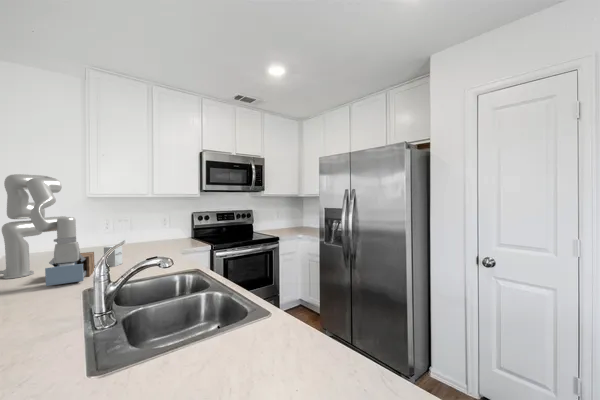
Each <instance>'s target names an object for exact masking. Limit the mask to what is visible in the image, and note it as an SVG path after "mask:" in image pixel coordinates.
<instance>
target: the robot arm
mask: <svg viewBox="0 0 600 400" xmlns="http://www.w3.org/2000/svg"><path fill="white" fill-rule="evenodd" d="M4 188H5V191H6V195H7V196H6V197H7V198H6V216H7V218H9V219H11V220H17V221H9V222H5V224H3V225H2V226H1V233H2V237H3V242H4V251H5V252H4V253H5V269H3V270H0V275H2V276H1V278H2V279H4V280H6V279H7V280H8V279H9V280H10V279H17V278H24V277H29V276H31V275H34V273H35V272H34V270H31V268H30V267H31V266H30V264H31V263H30V245H29V242H28V241H27V240H26V239H24V238H29V237H35V236H39V235H41V234H43V233H48V232H49V233H50V232H56V238H55V239H53V242H54V243H56V244H55V245H54V250H53V258H52V259H51V260H50V261H49V262H48V265H51V266H53V267H59V266H60V265H59V264H62V263H69V262H73V263H75V264H74V265H77V264H80V263H82V262H83V261H84V260H85V259H86V258H84V257H83V256H82V255H81V254H80V253H81V250H80V245H79V242H78V241H77V227H76V218H75V217H73V216H66V215H65V216H62V215H61V216H49V217H47V216H46V209H47V208H49V207H51V206H53V205H54V204H56V202H57V200H56V197H55V195H54V194H58V193H59V192H61V190H62V183H61V181H60V180H59V179H57V178H54V177H51V176H48V175H39V174H38V175H37V174H24V173H23V174H20V173H19V174H18V173H17V174H9V175H7V176H6V177H5V179H4ZM26 190H27V191H28V192H29V194H30V195H29V194H28V192H27V191H26ZM30 196H31V198H32V200H33V202H29V201H30V200H29V198H30ZM27 219H28V220H27ZM79 259H81V260H80V261H79V262H78V260H79Z"/></svg>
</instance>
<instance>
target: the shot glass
mask: <svg viewBox="0 0 600 400" xmlns="http://www.w3.org/2000/svg"><path fill="white" fill-rule="evenodd" d="M74 264H75V263H73V262H69V263H62V264H59V265H60V266H68V265H74Z"/></svg>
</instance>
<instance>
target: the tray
mask: <svg viewBox="0 0 600 400" xmlns="http://www.w3.org/2000/svg"><path fill="white" fill-rule="evenodd" d="M44 271H45V272H44V274H45V286H46V287H48V286H55V285H62V284H63V285H64V284H70V283H71V284H72V283H76V282H83V281H84V278H86V277H85V276H86V274H87V272H86V270H85V271H83V264H77V265H68V266H59V267H54V266H53V267H52V266H51V267H45V269H44Z"/></svg>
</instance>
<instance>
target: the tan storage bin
mask: <svg viewBox="0 0 600 400" xmlns="http://www.w3.org/2000/svg"><path fill="white" fill-rule="evenodd" d="M80 254H81V255H82V256H83V257H84V258H86V259H85V260H84V261H83V262H82V263H80V264H83V271H85V270H86V272H87V274H86V276H85V277H84V278H89V277H90V276H91V275H92V274H93V273H94V272H95V271H94V268H95V252H94V251H89V252H80ZM80 260H81V259H79V260H78V262H79V261H80ZM93 271H94V272H93Z"/></svg>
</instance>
